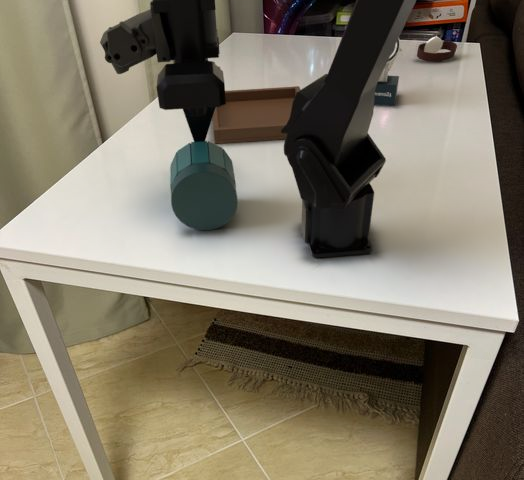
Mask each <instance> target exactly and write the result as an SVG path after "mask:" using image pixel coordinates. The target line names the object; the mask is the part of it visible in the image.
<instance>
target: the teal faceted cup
mask: <svg viewBox="0 0 524 480" xmlns="http://www.w3.org/2000/svg"><path fill="white" fill-rule="evenodd" d="M169 167H170V171H169V173H170V174H169V179H170V180H169V182H170V183H169V189H170V204H171V205H170V206H171V209H172V212H173V213H174V215H175V217H176V218H177V220H178V221H180V222H181V223H182V224H183V225H184V226H186V227H188V228H189V229H194V230H197V231H213V230H216V229H219V228H221V227H223V226H225V225H226V224H228V223H229V222H230V221H231V219H232V218H233V217H234V216H235V213H236V211H237V208H238V204H239V203H238V200H239V199H238V193H237V183H236V177H235V171H234V164H233V160H232V159H231V157H230V156H229V154H228V153H227V152H226V150H225V149H224V148H223V147H222V146H220V145H219V144H215V143H213V142H211V141H209V140H205V141H199V142H194V141H191V142H189V143H187V144H186V145H184V146H183V147H181V148H179V149H178V150H177V151H176V152H175V154H174V156H173V158H172V161H171V163H170V166H169Z"/></svg>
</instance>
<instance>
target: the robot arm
mask: <svg viewBox="0 0 524 480" xmlns="http://www.w3.org/2000/svg"><path fill="white" fill-rule="evenodd" d="M416 2H417V0H355V3H354V6H353V8H352V11H351V14H350V16H349V18H348V20H347V23H346V26H345V29H344V31H343V33H342V36H341V39H340V41H339V43H338V47H337V49H336V51H335V55H334V57H333V60H332V62H331V64H330V67H329V70H328V72H327V73H325V74H323V75H322V76H320V77H319V78H317V79H315V80H314V81H312V82H311V83H309V84H308V85H306V86H304V87H303V88H300V89H301V90H300V91H298V92H297V93H296V95H295V97H294V100H293V103H292V109H291V114H290V118H289V120H288V122H287V124H286V125H285V127H284V128H283V129H282V130H281V133H283V134H287V136H286V138H285V139H284V142H283V154H284V157H286V158H287V161H288V164H289V165H290V167H291V170H292V174H293V176H294V179H295V180H294V181H295V183H296V186H297V189H298V193H299V197H300V199H301V203H302V204H301V227H300V228H301V234H302V237H303V241H304V243H305V244H306V245H308V248H309V251H310V255H311V256H312V257H313V258H327V257H339V256H351V255H364V254H371V253H373V245H372V242H371V241H370V231H371V222H372V213H373V205H374V198H375V190H374V189H373V187H372V185H371V182H372V181H373V180H374V179H375V178H377V177H378V176H379V175H380V173H381V171H382V169H383V168H384V165H385V164H386V161H387V159H386V157H385V155H384V154H383V152H382V151H381V150H380V149H379V147H378V145H377V144H376V143H375V141H374V139H373V138H372V137H371V136H370V134H369V129H370V127H371V123H372V119H373V116H374V109H375V104H374V96H375V89H376V85H377V82H378V80H379V78H380V76H381V74H382V72H383V70H384V68H385V66H386V63H387V61H388V59H389V57H390V55H391V53H392V51H393V49H394V47H395V44H396V42H397V40H398V38H399V39H400V36H401V33H402V32H403V29H404V28H405V25H406V23H407V21H408V19H409V17H410V15H411V13H412V10H413V9H414V6H415V4H416ZM149 8H150V9H147V10H145V11H143V12H140V13H138V14H136V15H133V16H131V17H130V18H127V19H125V20H124V21H122V20H121V21H119V23H118V24H115V25H113V26H109V27H108V28H107V30H105V31H104V32H103V34H102V36H101V38H100V41H99V44H100V46H101V48H102V49H103V51H104V60H105V61H106V62H107V63H108V64H111V66H112V67H113V69H114V71H115V73H116V74H117V75H122V74H124V73H127V72H129V71H130V68H132V67H134V66H137V65H138V64H140V63H143V62H145V61H147V60H149V59H151V58H153V57H154V56H156V59H157V63H166V64H165V65H164V66H163V67H162V69H161V70H160V71H159V73H158V74H157V79H156V93H157V101H158V107H159V109H162V110H165V111H169V110H173V111H174V110H182V111H183V115H184V117H185V121H186V122H187V125H188V129H189V131H190V134H191V137H192V140H193V142H199V141H207V136H208V134H209V130H210V126H211V124H212V121H213V120H212V117H213V114H214V111H215V108H216V107H221V106H223V105H225V104H226V98H225V91H226V85H225V84H226V83H225V77H224V71H223V70H222V69H221V67H220V66H218V65H217V64H216V62H215V61H213V60H209V59H217V58H218V59H219V58H220V54H221V53H220V40H219V31H218V28H217V16H216V0H151V1H150V2H149ZM169 62H171V63H169Z"/></svg>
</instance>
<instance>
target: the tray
mask: <svg viewBox="0 0 524 480" xmlns="http://www.w3.org/2000/svg"><path fill="white" fill-rule="evenodd" d="M301 89H302V88H301V87H300V86H299V85H296V86H282V87H267V88H266V87H265V88H252V89H251V88H250V89H249V88H247V89H232V90H231V89H230V90H225V98H226V104H225V105H223V106H221V107H216V108H215V111H214V114H213V117H212V120H211V121H212V129H213V140H214V144H215V145H219V144H232V143H246V142H247V143H248V142H259V141H261V142H262V141H276V140H277V141H278V140H285V138H286V136H287V134H283V133H281V130H282V129H283V128H284V127H285V125H286V124H287V122H288V120H289V118H290V114H291V109H292V103H293V100H294V97H295V95H296V93H297V92H298V91H300V90H301Z"/></svg>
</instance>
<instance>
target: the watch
mask: <svg viewBox="0 0 524 480" xmlns="http://www.w3.org/2000/svg"><path fill="white" fill-rule="evenodd" d="M403 46H404V45H402V44H401V40H400V37H399V38H398V40H397V42H396V44H395V47H394V49H393V51H392V53H391V55H390V57H389V59H388V61H387V63H386V66H385V68H384V70H383V72H382V74H381V76H380V78H379V80H378V82H377V85H376V89H375V96H374V106H375V105H378V106H379V105H380V106H392V107H394V106H395V104H396V100H397V99H396V98H397V96H398V95H397V94H398V87H399V79H400V76H399V75H389V71H390V70H391V69H392V67H393V65H394V62H395V60H396V59H397V56H398V54H399V53H400V52H403V48H404V47H403Z"/></svg>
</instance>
